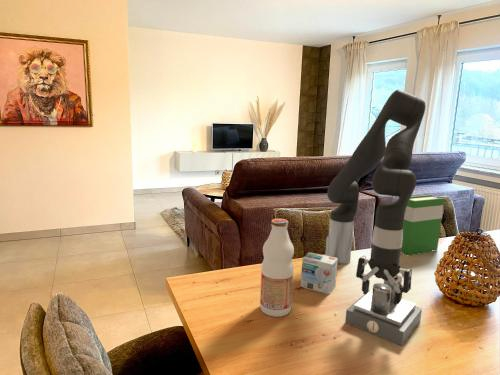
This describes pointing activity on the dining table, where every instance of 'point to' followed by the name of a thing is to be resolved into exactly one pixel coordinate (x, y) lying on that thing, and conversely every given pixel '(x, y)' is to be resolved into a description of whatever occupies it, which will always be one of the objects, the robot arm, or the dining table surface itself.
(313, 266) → the light bulb box
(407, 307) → the platform
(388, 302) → the cylinder
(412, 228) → the green cereal box
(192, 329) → the dining table surface
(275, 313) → the fruit juice
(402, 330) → the scale
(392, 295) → the cylinder
